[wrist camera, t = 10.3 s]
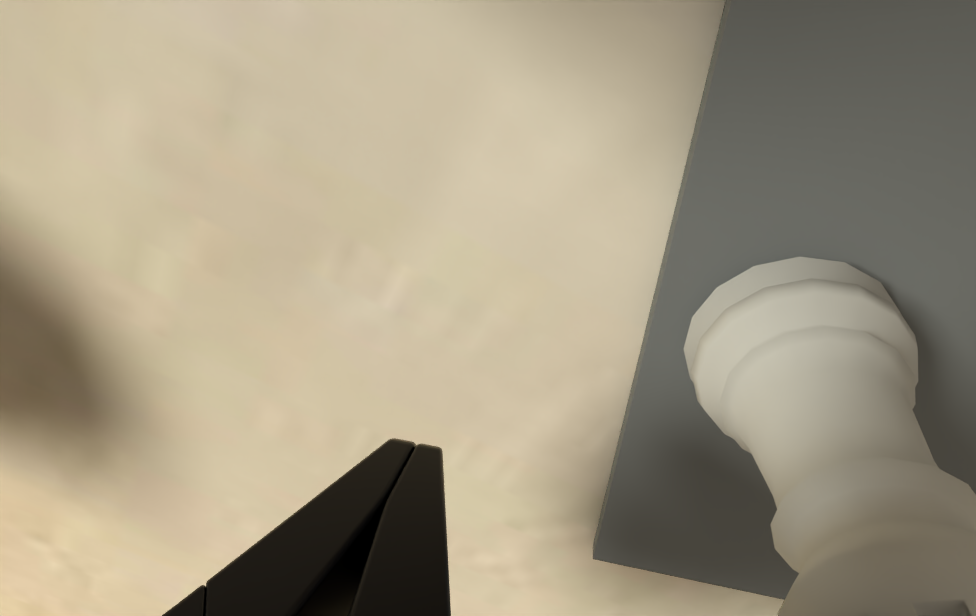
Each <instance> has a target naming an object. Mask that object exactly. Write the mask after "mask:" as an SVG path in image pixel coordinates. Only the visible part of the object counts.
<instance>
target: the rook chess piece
mask: <svg viewBox="0 0 976 616" xmlns="http://www.w3.org/2000/svg"><path fill="white" fill-rule="evenodd" d="M684 353H685V358H686V362H687V367H688V371H689V376H690V379H691V380H692V382H693V383H694V387H695V392H696V396H697V401H698V402H699V403H700V405H701V406H702V408H703V409H704V410H705V411H706V413H707V414H708V415H709V416H710V417H711V419H712V420H713V421H714V422H715V423H716V425H717V426H718V427H719V428H720V429H721V431H722V432H723V433H724V434H725V435H727V436H729V437H731V438H733V439H734V440H735V441H736V442H737V443H738V444H739V446H740V447H741V448H742V449H744V450H745V451H747V452H749V453H751V454H752V456H753V458H754V460H755V462H756V463H757V465H758V467H759V469H760V471H761V473H762V475H763V477H764V479H765V481H766V483H767V485H768V487H769V489H770V491H771V493H772V495H773V497H774V501H775V504H776V507H777V511H776V513H775V515H774V518H773V520H772V522H771V524H770V525H771V530H772V536H773V542H774V547H775V550H776V551H777V552H778V553H779V554H780V555H781V556H782V558H783V559H784V560H785V561H786V562H787V563H788V565H789V566H790V567H791V568H792V569H793V570H795V571H796V572H798V573H799V575H798V576H797V578H796V580H795V581H794V583H793V585H792V587H791V589H790V591H789V592H788V594H787V596H786V598H785V600H784V602H783V604H782V606H781V608H780V610H779V612H778V616H976V495H975V493H974V492H973V490H972V489H971V488H970V486H969V485H968V484H967V483H965V482H963V481H961V480H959V479H957V478H956V477H954V476H952V475H950V474H948V473H946V472H944V471H942V470H941V469H939V467H938V466H937V464H936V463H935V461H934V459H933V457H932V455H931V452H930V450H929V447H928V445H927V443H926V440H925V438H924V436H923V433H922V431H921V429H920V426H919V424H918V421H917V419H916V417H915V414H914V412H913V410H912V409H913V408H914V406H915V387H916V385H917V383H918V347H917V342H916V338H915V334H914V333H913V331H912V330H911V328H910V327H909V325H908V324H907V322H906V321H905V319H904V318H903V316H902V315H901V313H900V311H899V309H898V308H897V306H896V305H895V303H894V302H893V300H892V299H891V297H890V296H889V294H888V293H887V291H886V290H885V288H884V287H883V285H882V284H881V282H879V281H878V280H876V279H874V278H872V277H870V276H869V275H867V274H865V273H863V272H861V271H860V270H858V269H856V268H854V267H852V266H851V265H849V264H847V263H845V262H839V261H831V260H823V259H815V258H807V257H795V258H790V259H785V260H780V261H776V262H771V263H766V264H761V265H756V266H753V267H751V268H750V269H748V270H746V271H744V272H743V273H741V274H739V275H737V276H736V277H734V278H732V279H731V280H729V281H727V282H725V283H724V284H722V285H720V286H718V287H717V288H716V289H715V290H714V291H713V292H712V294H711V295H710V296H709V297H708V298H707V300H706V301H705V302H704V303H703V304H702V306H701V307H700V308H699V309H698V311H697V312H696V313H695V314H694V315H693V317H692V319H691V323H690V327H689V330H688V334H687V338H686V341H685V345H684Z"/></svg>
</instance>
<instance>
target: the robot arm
mask: <svg viewBox="0 0 976 616" xmlns="http://www.w3.org/2000/svg"><path fill="white" fill-rule="evenodd" d="M162 616H451V609H450V589H449V570H448V550H447V531H446V512H445V492H444V473H443V454H442V449H441V448H440V447H436V446H431V445H426V444H418V445H416V444H415V443H414V442H410V441H405V440H400V439H390V440H388V441H387V442H385V443H384V444H383V445H382V446H380V447H379V448H378V449H376V450H375V451H374V452H373V453H371V454H370V455H369V456H367V457H366V458H365V459H364V460H362V461H361V462H360V463H358V464H357V465H356V466H355V467H353V468H352V469H351V470H349V471H348V472H347V473H346V474H344V475H343V476H342V477H340V478H339V479H338V480H337V481H335V482H334V483H333V484H331V485H330V486H329V487H328V488H326V489H325V490H324V491H322V492H321V493H320V494H319V495H317V496H316V497H315V498H313V499H312V500H311V501H310V502H308V503H307V504H306V505H304V506H303V507H302V508H301V509H299V510H298V511H297V512H295V513H294V514H293V515H292V516H290V517H289V518H288V519H286V520H285V521H284V522H283V523H281V524H280V525H279V526H277V527H276V528H275V529H274V530H272V531H271V532H270V533H268V534H267V535H266V536H265V537H263V538H262V539H261V540H259V541H258V542H257V543H256V544H254V545H253V546H252V547H250V548H249V549H248V550H247V551H245V552H244V553H243V554H241V555H240V556H239V557H238V558H236V559H235V560H234V561H232V562H231V563H230V564H229V565H227V566H226V567H225V568H223V569H222V570H221V571H220V572H218V573H217V574H216V575H214V576H213V577H212V578H211V579H209V580H208V581H207V583H206V586H204V585H202V586H200V587H199V588H197V589H196V590H195V591H194V592H192V593H191V594H190V595H188V596H187V597H186V598H184V599H183V600H182V601H181V602H179V603H178V604H177V605H175V606H174V607H173V608H171V609H170V610H169V611H167V612H166V613H165V614H163V615H162Z"/></svg>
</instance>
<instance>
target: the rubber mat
mask: <svg viewBox="0 0 976 616" xmlns="http://www.w3.org/2000/svg"><path fill="white" fill-rule="evenodd" d="M795 257H807V258H815V259H823V260H831V261H839V262H845V263H847V264H849V265H851V266H852V267H854V268H856V269H858V270H860V271H861V272H863V273H865V274H867V275H869V276H870V277H872V278H874V279H876V280H878V281H879V282H881V284H882V285H883V287H884V288H885V290H886V291H887V293H888V294H889V296H890V297H891V299H892V300H893V302H894V303H895V305H896V306H897V308H898V309H899V311H900V313H901V315H902V316H903V318H904V319H905V321H906V322H907V324H908V325H909V327H910V328H911V330H912V331H913V333H914V334H915V338H916V342H917V347H918V383H917V385H916V387H915V406H914V408H913V409H912V410H913V412H914V414H915V417H916V419H917V421H918V424H919V426H920V429H921V431H922V433H923V436H924V438H925V440H926V443H927V445H928V447H929V450H930V452H931V455H932V457H933V459H934V461H935V463H936V464H937V466H938V467H939V469H941V470H942V471H944V472H946V473H948V474H950V475H952V476H954V477H956V478H957V479H959V480H961V481H963V482H965V483H967V484H968V485H969V486H970V488H971V489H972V490H973V492H974V493H975V495H976V0H726V2H725V6H724V10H723V15H722V19H721V23H720V27H719V31H718V35H717V39H716V43H715V47H714V51H713V56H712V60H711V64H710V68H709V72H708V76H707V80H706V84H705V88H704V92H703V97H702V101H701V105H700V109H699V113H698V117H697V121H696V125H695V129H694V133H693V138H692V142H691V146H690V150H689V154H688V158H687V162H686V166H685V170H684V174H683V179H682V183H681V187H680V191H679V195H678V199H677V203H676V207H675V211H674V215H673V220H672V224H671V228H670V232H669V236H668V240H667V244H666V248H665V252H664V256H663V261H662V265H661V269H660V273H659V277H658V281H657V285H656V289H655V293H654V297H653V302H652V306H651V310H650V314H649V318H648V322H647V326H646V330H645V334H644V338H643V343H642V347H641V351H640V355H639V359H638V363H637V367H636V371H635V375H634V379H633V384H632V388H631V392H630V396H629V400H628V404H627V408H626V412H625V416H624V420H623V425H622V429H621V433H620V437H619V441H618V445H617V449H616V453H615V457H614V461H613V466H612V470H611V474H610V478H609V482H608V486H607V490H606V494H605V498H604V502H603V507H602V511H601V515H600V519H599V523H598V527H597V531H596V535H595V539H594V545H593V559H596V560H600V561H605V562H610V563H614V564H619V565H624V566H629V567H633V568H638V569H643V570H647V571H652V572H657V573H662V574H666V575H671V576H676V577H680V578H685V579H690V580H695V581H699V582H704V583H709V584H713V585H718V586H723V587H728V588H732V589H737V590H742V591H746V592H751V593H756V594H761V595H765V596H770V597H775V598H779V599H784V600H785V598H786V596H787V594H788V592H789V591H790V589H791V587H792V585H793V583H794V581H795V580H796V578H797V576H798V575H799V573H798V572H796V571H795V570H793V569H792V568H791V567H790V566H789V565H788V563H787V562H786V561H785V560H784V559H783V558H782V556H781V555H780V554H779V553H778V552H777V551H776V550H775V547H774V542H773V536H772V530H771V525H770V524H771V522H772V520H773V518H774V515H775V513H776V511H777V507H776V504H775V501H774V497H773V495H772V493H771V491H770V489H769V487H768V485H767V483H766V481H765V479H764V477H763V475H762V473H761V471H760V469H759V467H758V465H757V463H756V462H755V460H754V458H753V456H752V454H751V453H749V452H747V451H745V450H744V449H742V448H741V447H740V446H739V444H738V443H737V442H736V441H735V440H734V439H733V438H731V437H729V436H727V435H725V434H724V433H723V432H722V431H721V429H720V428H719V427H718V426H717V425H716V423H715V422H714V421H713V420H712V419H711V417H710V416H709V415H708V414H707V413H706V411H705V410H704V409H703V408H702V406H701V405H700V403H699V402H698V401H697V396H696V392H695V387H694V383H693V382H692V380H691V379H690V376H689V371H688V367H687V362H686V358H685V353H684V345H685V341H686V338H687V334H688V330H689V327H690V323H691V319H692V317H693V315H694V314H695V313H696V312H697V311H698V309H699V308H700V307H701V306H702V304H703V303H704V302H705V301H706V300H707V298H708V297H709V296H710V295H711V294H712V292H713V291H714V290H715V289H716V288H717V287H718V286H720V285H722V284H724V283H725V282H727V281H729V280H731V279H732V278H734V277H736V276H737V275H739V274H741V273H743V272H744V271H746V270H748V269H750V268H751V267H753V266H756V265H761V264H766V263H771V262H776V261H780V260H785V259H790V258H795Z"/></svg>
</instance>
